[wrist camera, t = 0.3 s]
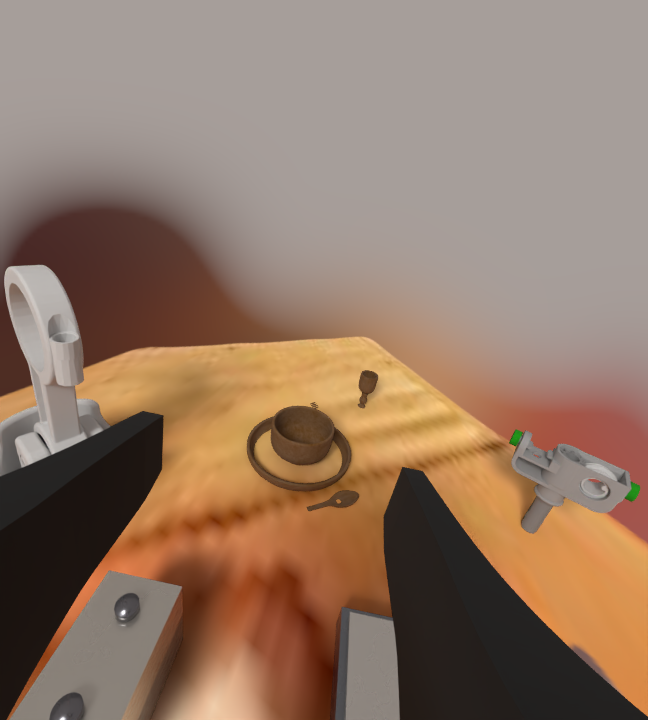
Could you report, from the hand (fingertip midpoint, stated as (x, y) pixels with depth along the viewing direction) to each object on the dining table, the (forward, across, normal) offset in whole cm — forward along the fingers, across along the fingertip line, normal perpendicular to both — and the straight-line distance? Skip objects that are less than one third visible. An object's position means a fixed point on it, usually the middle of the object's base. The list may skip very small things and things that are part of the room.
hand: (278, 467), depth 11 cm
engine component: (+15, +18, +21) cm, 32 cm away
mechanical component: (+21, -26, +19) cm, 38 cm away
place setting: (+28, -4, +20) cm, 34 cm away
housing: (+2, +7, +21) cm, 22 cm away
